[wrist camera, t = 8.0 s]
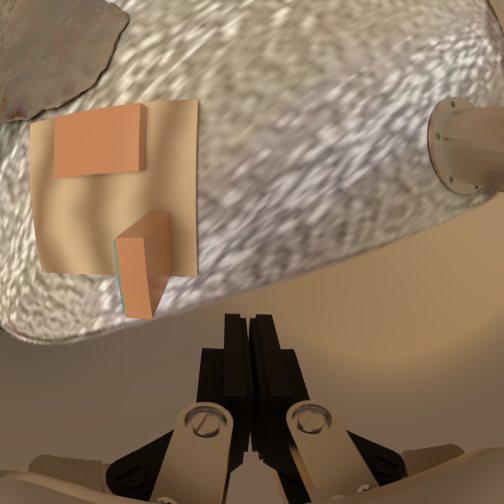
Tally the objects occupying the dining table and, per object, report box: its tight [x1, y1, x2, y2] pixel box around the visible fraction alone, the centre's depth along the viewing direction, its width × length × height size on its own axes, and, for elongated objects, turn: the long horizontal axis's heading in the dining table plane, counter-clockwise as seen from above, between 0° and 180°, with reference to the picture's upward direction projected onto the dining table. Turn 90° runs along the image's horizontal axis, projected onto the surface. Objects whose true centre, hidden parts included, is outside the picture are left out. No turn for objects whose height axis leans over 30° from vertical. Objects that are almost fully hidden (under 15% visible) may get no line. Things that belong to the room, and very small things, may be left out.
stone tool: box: [0, 0, 129, 123], centre depth 17 cm, size 20×3×25 cm
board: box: [30, 99, 199, 276], centre depth 25 cm, size 19×17×1 cm
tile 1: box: [54, 103, 147, 179], centre depth 22 cm, size 2×6×9 cm
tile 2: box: [113, 212, 172, 319], centre depth 22 cm, size 2×6×9 cm, turn 178°
